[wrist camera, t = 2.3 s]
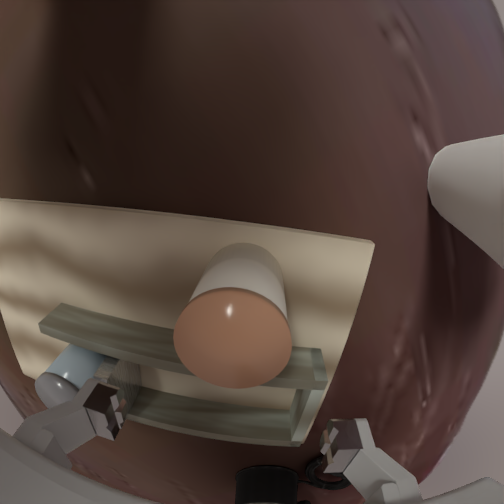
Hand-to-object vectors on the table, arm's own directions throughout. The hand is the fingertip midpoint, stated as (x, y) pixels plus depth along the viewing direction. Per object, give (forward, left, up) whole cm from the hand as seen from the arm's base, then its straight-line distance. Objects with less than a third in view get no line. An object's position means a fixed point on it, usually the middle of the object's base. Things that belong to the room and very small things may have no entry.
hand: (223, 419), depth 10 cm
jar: (0, 0, -12) cm, 12 cm away
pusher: (+10, -10, -12) cm, 18 cm away
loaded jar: (+10, -13, -12) cm, 20 cm away
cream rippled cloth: (+8, -10, -13) cm, 18 cm away
